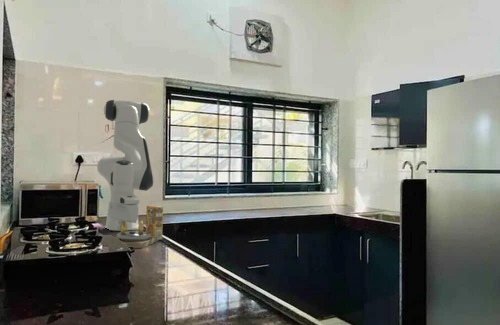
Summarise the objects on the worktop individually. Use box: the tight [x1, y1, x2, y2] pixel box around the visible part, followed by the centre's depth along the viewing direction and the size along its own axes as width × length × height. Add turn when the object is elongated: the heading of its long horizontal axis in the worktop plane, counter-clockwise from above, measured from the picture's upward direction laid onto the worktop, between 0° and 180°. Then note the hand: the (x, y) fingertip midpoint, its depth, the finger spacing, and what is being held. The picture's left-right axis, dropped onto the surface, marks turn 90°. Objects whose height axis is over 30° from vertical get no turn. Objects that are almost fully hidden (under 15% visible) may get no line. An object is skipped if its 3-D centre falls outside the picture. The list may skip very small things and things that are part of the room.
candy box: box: [145, 205, 164, 241], centre depth 183 cm, size 9×4×15 cm, turn 44°
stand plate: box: [122, 236, 159, 249], centre depth 169 cm, size 18×17×2 cm
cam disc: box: [116, 220, 151, 241], centre depth 169 cm, size 14×14×7 cm
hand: (121, 230), depth 166 cm, fingers closed, pressing on cam disc
